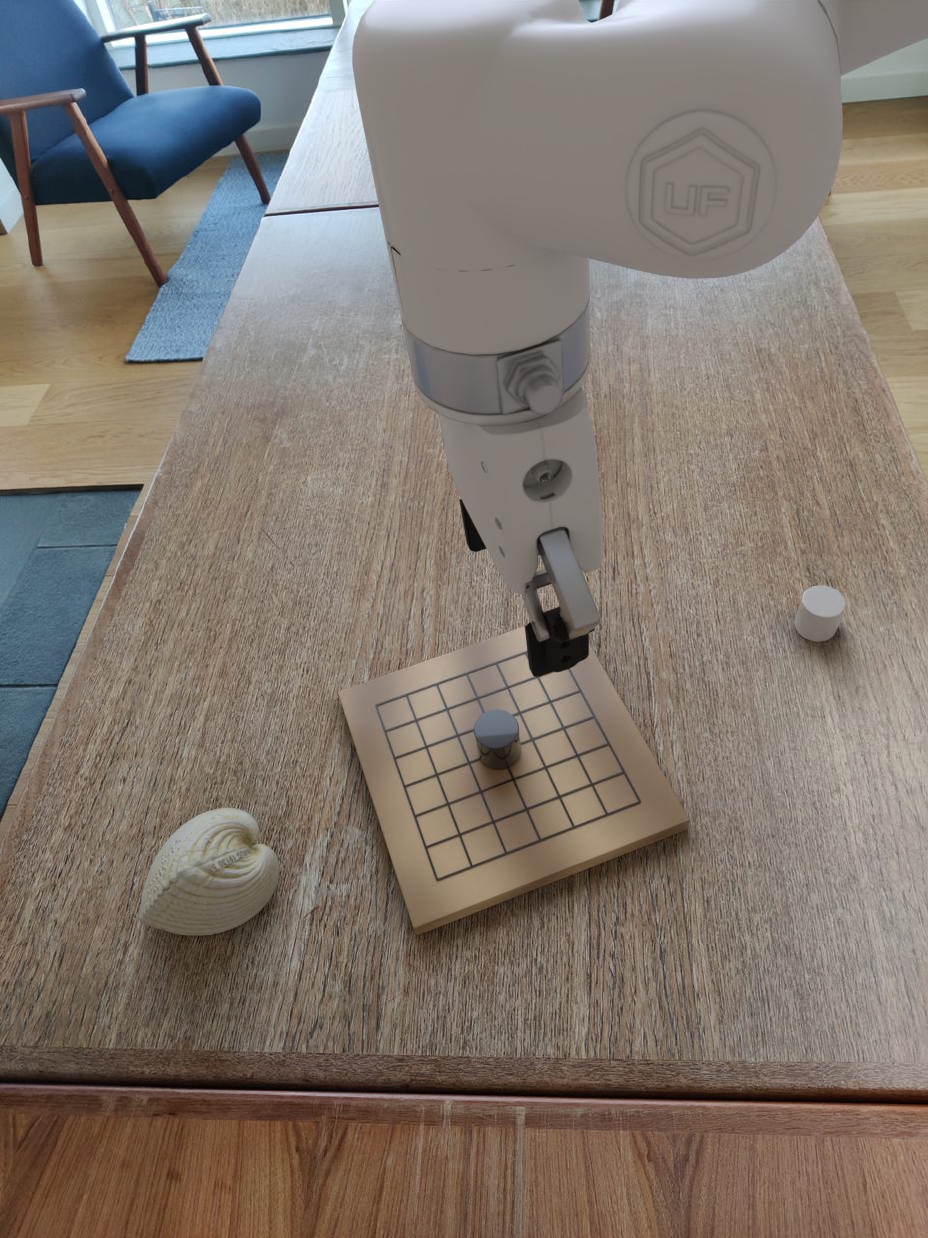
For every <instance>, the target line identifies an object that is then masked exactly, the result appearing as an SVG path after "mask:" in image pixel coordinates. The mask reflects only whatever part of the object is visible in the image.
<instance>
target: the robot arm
mask: <svg viewBox="0 0 928 1238" xmlns="http://www.w3.org/2000/svg"><path fill="white" fill-rule="evenodd" d="M927 39H928V0H619V1H618V4H617V6H616V9H615V12H614V13H612V14H610V15H608V16H606V17H604V18H601V19H598V20H596V21H593V22H592V21H589V20H588V19H587V18H586V17H585V13H584V11H583V9H582V6H581V3H580V1H579V0H373V1H372V2H371V3H370V5H369V6H368V7H367V9H366V10H365V11H364V13H363V14H362V15H361V16H360V18H359V22H358V24H357V27H356V29H355V33H354V36H353V41H352V46H351V51H352V52H351V54H352V55H351V63H352V64H351V65H352V72H353V78H354V84H355V86H354V87H355V92H356V96H357V101H358V107H359V112H360V117H361V123H362V127H363V128H362V129H363V132H364V138H365V142H366V143H365V144H366V146H367V153H368V159H369V162H370V168H371V173H372V178H373V183H374V189H375V193H376V198H377V203H378V208H379V213H380V214H379V215H380V219H381V223H382V229H383V235H384V238H385V239H384V240H385V244H386V249H387V254H388V259H389V264H390V269H391V274H392V280H393V284H394V290H395V295H396V300H397V305H398V308H399V314H400V318H401V324H402V329H403V334H404V339H405V345H406V349H407V354H408V359H409V365H410V370H411V375H412V380H413V385H414V389H415V392H416V393H417V395H418V397H419V399H420V400H421V401H422V402H423V403H424V405H425V406H426V407H427V408H429V409H431V410H432V411H434V412H435V413H436V414H438V421H439V426H440V432H441V438H442V443H443V447H444V448H443V449H444V453H445V458H446V462H447V465H448V469H449V472H450V476H451V479H452V481H453V484H454V486H455V488H456V491H457V493H458V495H459V497H460V499H458V501H459V506H460V512H461V517H462V524H463V530H464V536H465V541H466V542H465V543H466V545H467V547H468V549H469V551H470V552H474V553H478V552H481V551H484V550H487V552H488V554H489V555H490V557H491V560H492V561H493V563H494V565H495V568H496V569H497V571H498V572H499V574H500V577H501V578H502V580H503V581H504V583H505V585H506V586H507V587H508V589H510V590H511V591H513V592H515V593H516V594H520V595H521V596H522V599H523V602H524V605H525V609H526V613H527V616H528V618H529V622H528V623H527V624H526V625H524V626H525V634H526V644H527V653H528V663H529V669H530V671H531V673H532V675H533V676H534V677H539V676H542V675H545V674H548V673H550V672H562V671H565V670H567V669H570V668H572V667H574V666H575V665H576V664H577V663H578V662H580V661H583V660H585V659H586V658H587V657H588V656H589V643H590V633H593V632H595V630H596V627H597V626H598V625H599V624H600V623H601V616H600V612H599V609H598V607H597V604H596V602H595V600H594V597H593V595H592V592H591V590H590V588H589V584H588V582H587V580H586V577H585V574H588V573H591V572H593V571H596V570H598V569H599V568H600V567H601V566H602V563H603V559H604V532H603V530H604V529H603V514H602V513H603V511H602V498H601V497H602V495H601V485H600V484H601V483H600V472H599V471H600V470H599V463H598V456H597V446H596V442H595V433H594V430H593V424H592V418H591V413H590V410H589V409H590V408H589V405H588V401H587V397H586V395H585V392H584V390H583V386H584V385H585V384H586V381H587V379H588V377H589V374H590V371H591V370H590V369H591V290H590V289H591V288H590V285H591V284H590V281H591V280H590V260H594V261H598V262H601V263H606V264H610V265H613V266H618V267H622V268H626V269H630V270H634V271H638V272H643V273H646V274H647V273H648V274H652V275H658V276H663V277H671V278H679V279H688V280H689V279H690V280H691V279H692V280H693V279H694V280H695V279H696V280H698V279H720V278H726V277H727V278H728V277H732V276H736V275H737V276H738V275H739V274H744V273H748V272H750V271H752V270H755V269H758V268H759V267H762V266H763V265H767V264H768V263H770V262H771V261H773V260H775V259H777V258H778V257H780V256H781V255H782V254H784V253H785V252H786V251H788V250H789V249H790V248H791V247H792V246H793V245H795V244H796V243H797V242H798V241H799V240H800V239H801V238H802V237H803V236H804V235H805V233H806V232H807V231H808V230H809V229H810V227H811V226H813V224H814V223H815V221H816V220H817V218H818V217H819V215H820V213H821V211H822V210H823V208H824V206H825V205H826V202H827V200H828V199H829V195H830V193H831V191H832V188H833V186H834V184H835V180H836V176H837V173H838V170H839V166H840V165H839V164H840V158H841V152H842V145H843V129H844V128H843V127H844V119H843V97H842V96H843V95H842V79H841V77H843V76H845V75H847V74H849V73H851V72H853V71H856V70H858V69H860V68H862V67H864V66H867V65H869V64H871V63H873V62H875V61H877V60H880V59H882V58H884V57H886V56H889V55H891V54H893V53H896V52H898V51H900V50H903V49H904V48H906V47H907V48H908V47H910V46H912V45H914V44H916V43H919V42H922V41H925V40H927ZM539 556H540V559H541V561H542V564H543V566H544V569H543V568H542V569H540V570H538V568H539V566H540V565H539V563H540V562H539ZM549 585H551V587H552V588H553V591H554V594H555V596H556V598H557V601H558V604H559V605H558V606H557V607H554V608H551V609H549V610H545V611H544V610H543V609H544V608H543V606H542V602H541V599H540V595H539V593H538V589H541V588H544V587H547V586H549Z"/></svg>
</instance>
